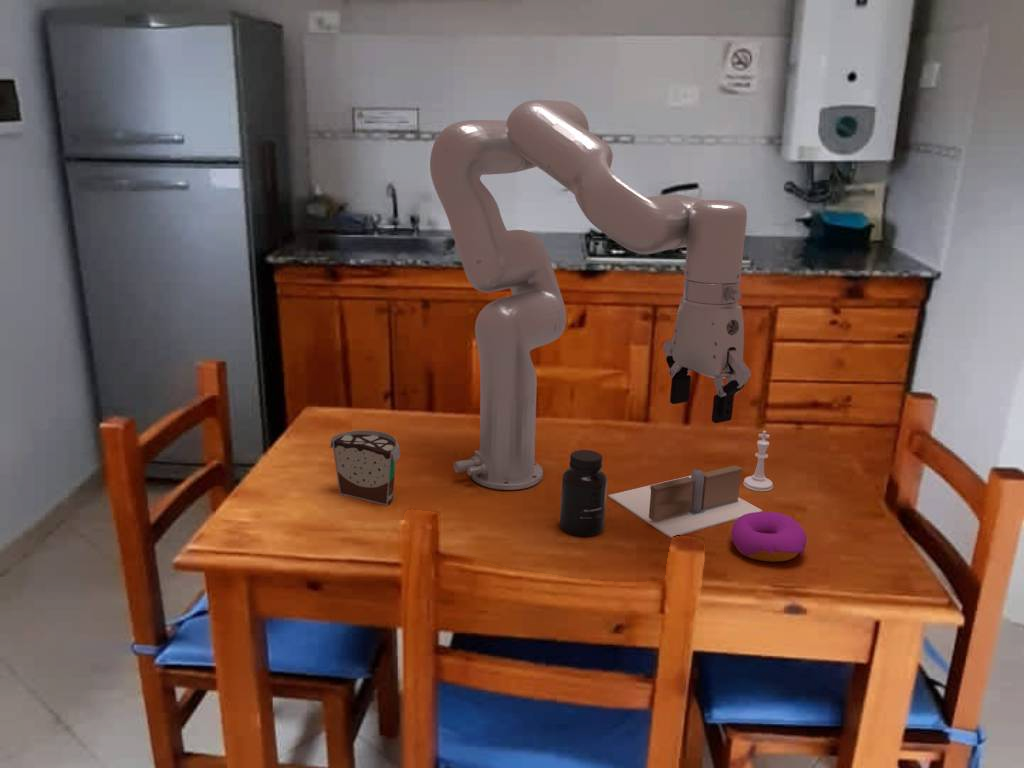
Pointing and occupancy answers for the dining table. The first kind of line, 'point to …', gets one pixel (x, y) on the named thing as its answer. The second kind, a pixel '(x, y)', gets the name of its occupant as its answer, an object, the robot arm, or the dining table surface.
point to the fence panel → (671, 498)
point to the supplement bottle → (583, 494)
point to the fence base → (683, 519)
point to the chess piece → (759, 468)
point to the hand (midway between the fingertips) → (699, 411)
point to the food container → (366, 464)
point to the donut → (768, 536)
